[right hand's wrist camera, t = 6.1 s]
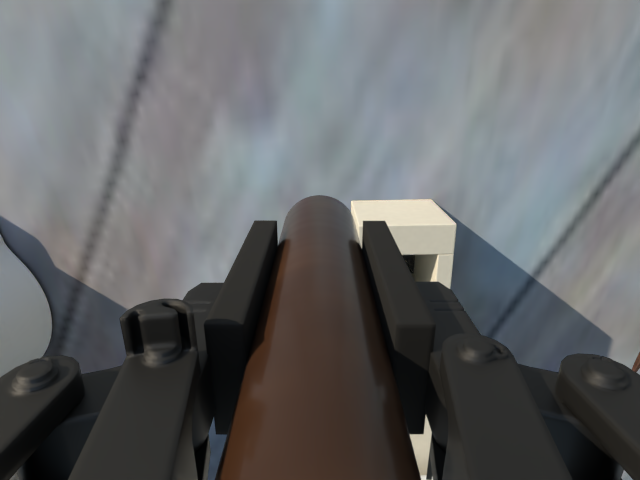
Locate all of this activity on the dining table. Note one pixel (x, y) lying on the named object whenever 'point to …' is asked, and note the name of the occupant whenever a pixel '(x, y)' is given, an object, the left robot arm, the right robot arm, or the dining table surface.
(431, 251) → the peg block
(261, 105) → the dining table surface
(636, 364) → the fork
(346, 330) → the walnut peg
